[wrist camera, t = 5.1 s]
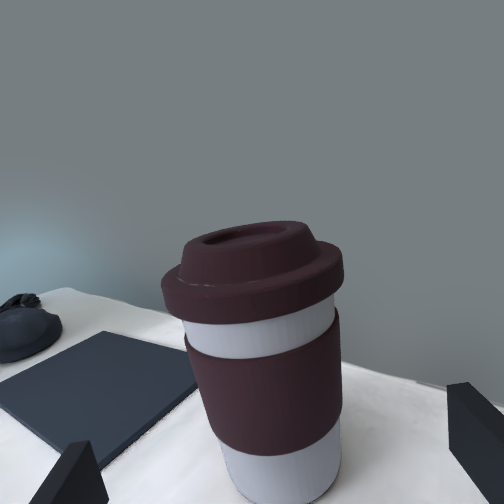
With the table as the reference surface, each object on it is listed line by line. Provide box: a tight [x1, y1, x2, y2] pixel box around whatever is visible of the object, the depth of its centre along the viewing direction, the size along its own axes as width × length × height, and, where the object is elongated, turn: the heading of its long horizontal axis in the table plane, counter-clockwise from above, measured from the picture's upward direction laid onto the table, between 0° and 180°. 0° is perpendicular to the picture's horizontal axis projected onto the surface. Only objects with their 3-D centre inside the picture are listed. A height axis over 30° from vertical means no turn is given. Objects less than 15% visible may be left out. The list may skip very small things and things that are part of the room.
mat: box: [0, 331, 198, 470], centre depth 34 cm, size 22×14×1 cm, turn 55°
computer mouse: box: [0, 293, 62, 363], centre depth 55 cm, size 10×32×6 cm, turn 37°
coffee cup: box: [161, 221, 344, 504], centre depth 20 cm, size 10×10×15 cm
